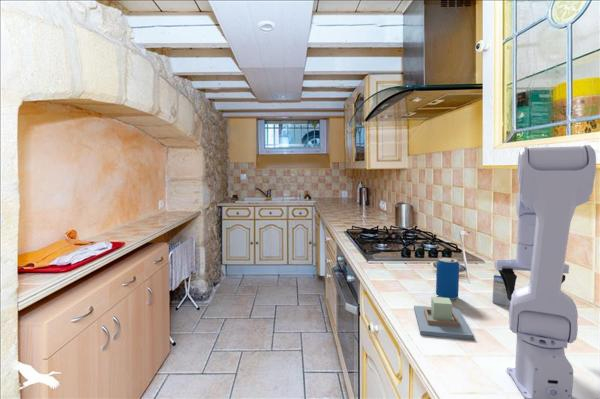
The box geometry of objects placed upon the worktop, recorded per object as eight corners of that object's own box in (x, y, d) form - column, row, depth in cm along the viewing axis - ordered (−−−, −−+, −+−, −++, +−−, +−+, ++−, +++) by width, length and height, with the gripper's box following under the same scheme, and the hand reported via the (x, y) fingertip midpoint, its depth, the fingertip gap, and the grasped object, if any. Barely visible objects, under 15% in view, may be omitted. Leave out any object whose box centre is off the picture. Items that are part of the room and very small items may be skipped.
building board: (473, 339, 81) (474, 331, 81) (420, 334, 84) (420, 326, 84) (458, 312, 97) (458, 305, 97) (414, 308, 100) (414, 302, 99)
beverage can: (460, 301, 105) (461, 262, 104) (437, 300, 106) (439, 261, 105) (455, 293, 111) (456, 257, 110) (434, 292, 113) (435, 256, 112)
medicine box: (497, 295, 110) (498, 269, 109) (513, 298, 107) (514, 271, 106) (492, 303, 104) (493, 274, 103) (509, 306, 101) (510, 277, 100)
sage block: (451, 323, 88) (452, 304, 87) (433, 321, 89) (433, 302, 88) (448, 316, 92) (449, 297, 92) (430, 314, 93) (431, 296, 93)
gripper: (558, 241, 81) (555, 297, 82) (491, 239, 84) (489, 293, 86) (575, 247, 74) (571, 308, 76) (501, 245, 78) (499, 303, 79)
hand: (528, 301), depth 80 cm, fingers open, 7 cm apart
